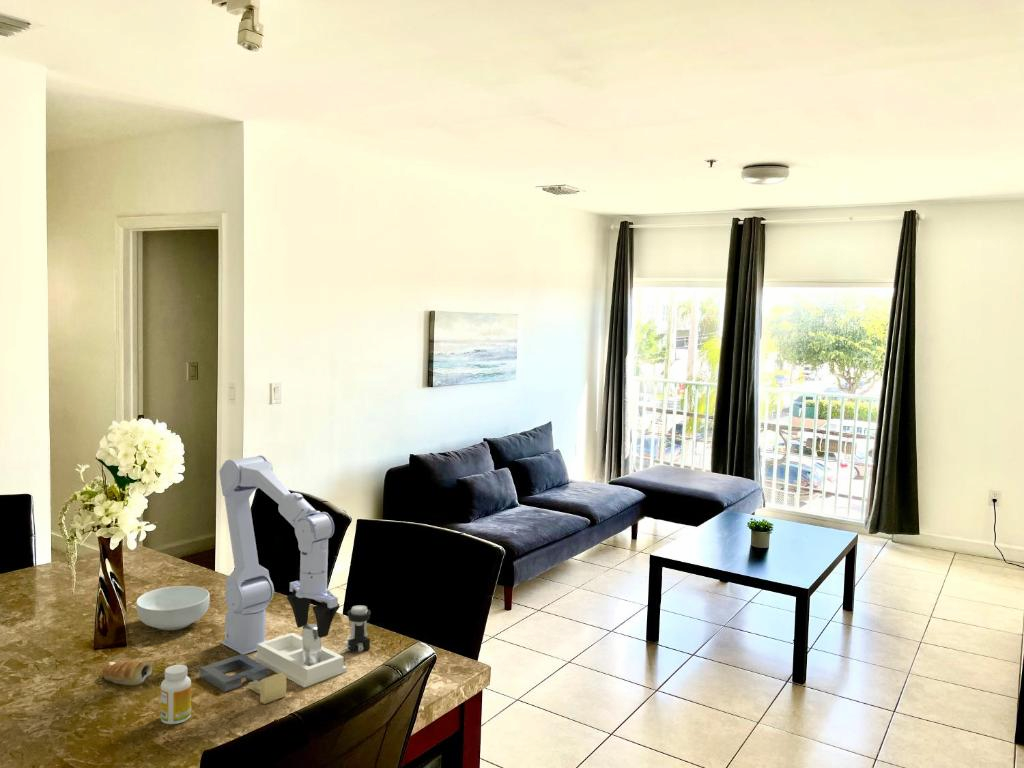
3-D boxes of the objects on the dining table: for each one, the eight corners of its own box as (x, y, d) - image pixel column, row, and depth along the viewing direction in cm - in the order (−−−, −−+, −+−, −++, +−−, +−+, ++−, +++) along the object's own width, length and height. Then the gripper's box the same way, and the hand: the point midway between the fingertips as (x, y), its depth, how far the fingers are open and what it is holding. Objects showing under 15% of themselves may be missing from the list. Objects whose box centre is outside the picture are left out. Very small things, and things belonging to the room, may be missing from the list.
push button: (346, 657, 185) (347, 614, 184) (337, 648, 189) (338, 607, 188) (373, 651, 188) (374, 609, 187) (364, 643, 193) (365, 602, 192)
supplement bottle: (195, 711, 157) (195, 663, 156) (185, 725, 152) (185, 675, 151) (167, 710, 157) (167, 662, 156) (155, 724, 152) (156, 674, 151)
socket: (199, 676, 172) (200, 667, 172) (242, 662, 179) (242, 653, 179) (225, 692, 165) (225, 682, 165) (267, 676, 173) (268, 667, 173)
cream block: (241, 690, 166) (241, 669, 166) (263, 682, 170) (263, 661, 169) (264, 704, 161) (264, 682, 160) (286, 695, 165) (286, 674, 164)
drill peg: (298, 667, 176) (298, 627, 175) (313, 661, 179) (314, 622, 178) (309, 673, 173) (309, 632, 173) (324, 667, 176) (325, 627, 176)
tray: (253, 659, 181) (253, 644, 181) (295, 646, 189) (295, 631, 189) (304, 687, 169) (304, 671, 169) (346, 671, 177) (347, 655, 177)
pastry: (94, 684, 167) (94, 666, 167) (112, 670, 174) (112, 653, 173) (138, 687, 166) (139, 669, 166) (155, 673, 173) (155, 656, 173)
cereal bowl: (156, 610, 208) (156, 583, 208) (220, 613, 208) (220, 586, 207) (122, 636, 191) (122, 607, 191) (191, 639, 191) (192, 610, 190)
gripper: (278, 565, 176) (277, 626, 177) (318, 582, 167) (317, 646, 168) (305, 559, 181) (304, 618, 183) (346, 574, 172) (344, 636, 173)
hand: (312, 631), depth 176 cm, fingers open, 7 cm apart
